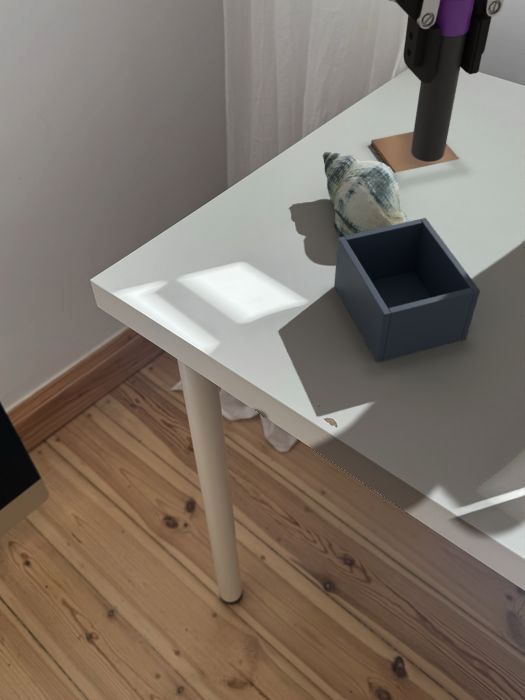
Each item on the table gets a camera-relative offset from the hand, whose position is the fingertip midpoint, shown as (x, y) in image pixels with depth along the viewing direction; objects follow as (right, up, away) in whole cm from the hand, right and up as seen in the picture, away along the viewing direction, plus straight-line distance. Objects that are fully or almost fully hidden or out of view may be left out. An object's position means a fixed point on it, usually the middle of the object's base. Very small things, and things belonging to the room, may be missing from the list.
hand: (441, 67), depth 52 cm
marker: (0, -5, +5) cm, 7 cm away
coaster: (+5, +2, +33) cm, 33 cm away
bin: (0, -17, +16) cm, 23 cm away
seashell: (-2, -7, +25) cm, 26 cm away
